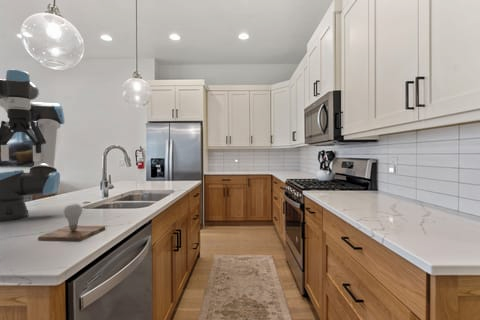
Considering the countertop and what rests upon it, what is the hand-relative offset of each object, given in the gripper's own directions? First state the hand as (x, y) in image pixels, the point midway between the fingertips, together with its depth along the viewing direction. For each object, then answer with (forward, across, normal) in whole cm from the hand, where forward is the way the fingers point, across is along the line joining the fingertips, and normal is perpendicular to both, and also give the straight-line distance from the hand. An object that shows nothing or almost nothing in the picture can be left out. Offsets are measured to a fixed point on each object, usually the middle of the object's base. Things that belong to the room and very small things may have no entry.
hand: (20, 161), depth 113 cm
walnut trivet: (+28, +26, -6) cm, 39 cm away
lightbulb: (+27, +26, -6) cm, 38 cm away
